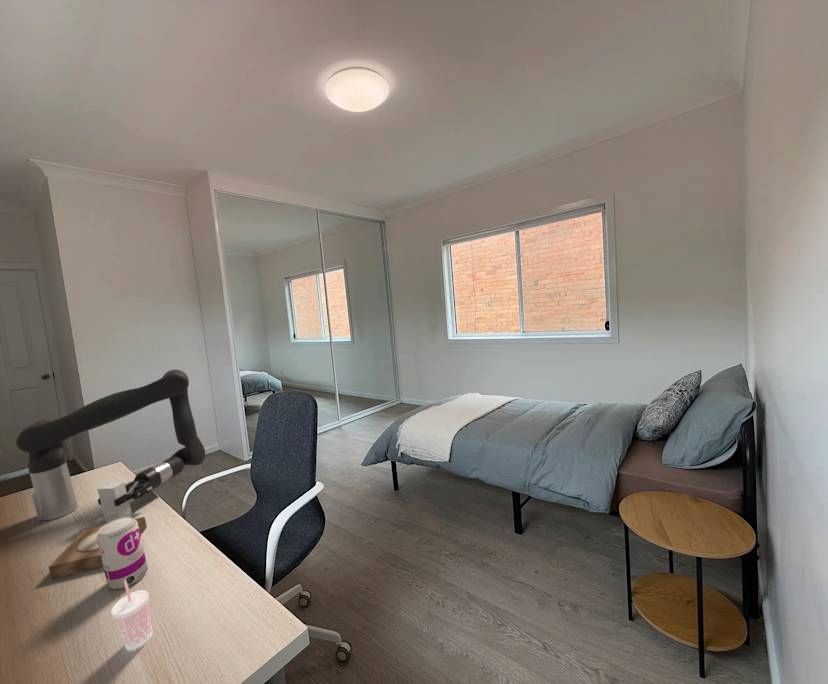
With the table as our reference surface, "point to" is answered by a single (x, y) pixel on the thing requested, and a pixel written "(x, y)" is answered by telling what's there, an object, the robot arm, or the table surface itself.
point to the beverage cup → (133, 618)
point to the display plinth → (83, 553)
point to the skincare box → (107, 501)
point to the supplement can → (121, 552)
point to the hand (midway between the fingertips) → (107, 503)
